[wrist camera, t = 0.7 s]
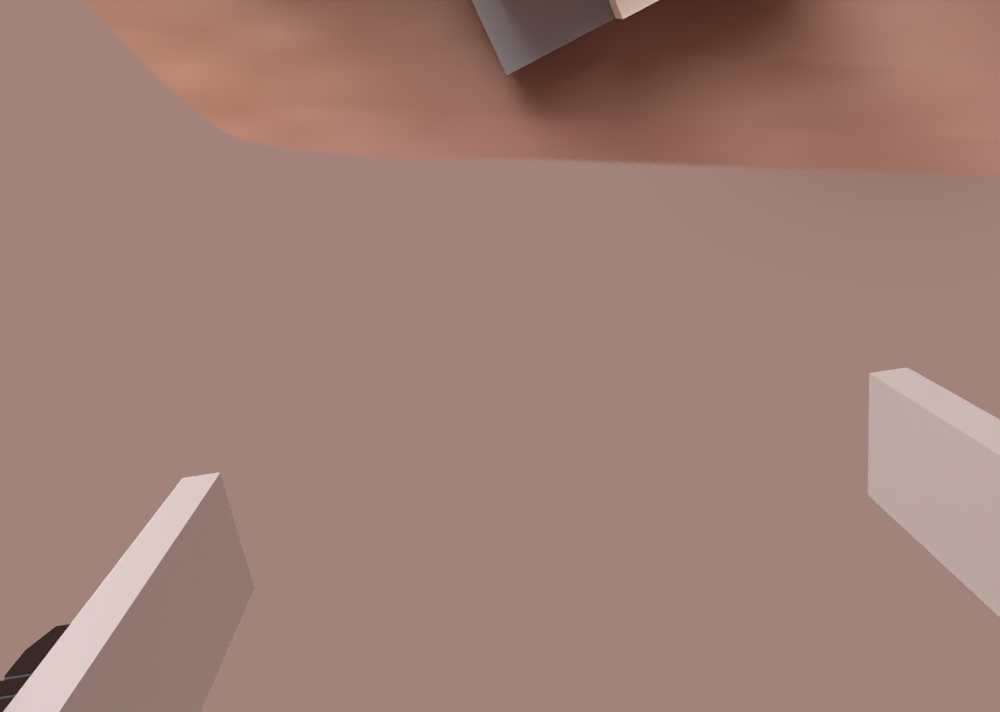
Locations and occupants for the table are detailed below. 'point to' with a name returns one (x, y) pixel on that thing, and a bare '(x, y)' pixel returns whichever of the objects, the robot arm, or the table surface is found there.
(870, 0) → the table surface
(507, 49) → the tunnel deck
